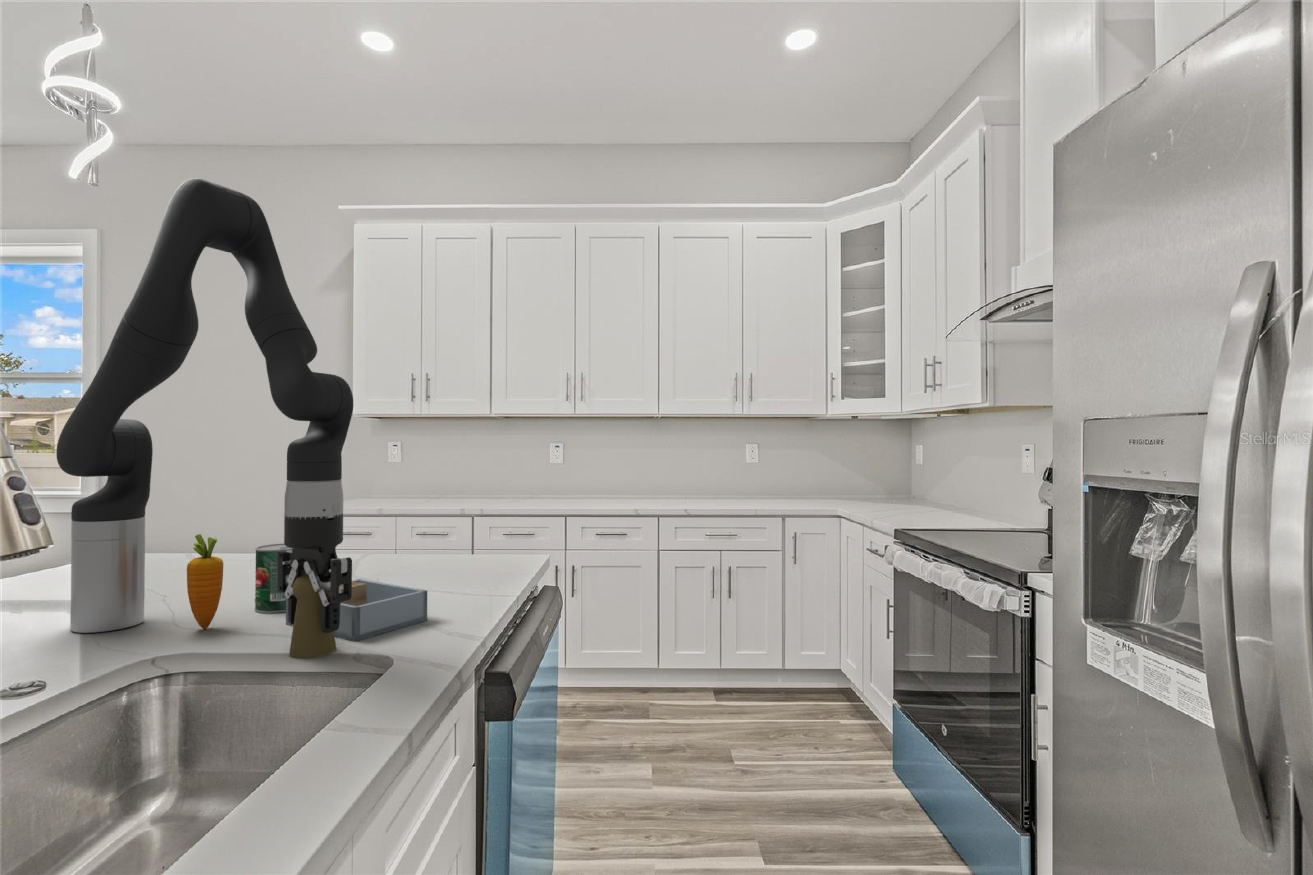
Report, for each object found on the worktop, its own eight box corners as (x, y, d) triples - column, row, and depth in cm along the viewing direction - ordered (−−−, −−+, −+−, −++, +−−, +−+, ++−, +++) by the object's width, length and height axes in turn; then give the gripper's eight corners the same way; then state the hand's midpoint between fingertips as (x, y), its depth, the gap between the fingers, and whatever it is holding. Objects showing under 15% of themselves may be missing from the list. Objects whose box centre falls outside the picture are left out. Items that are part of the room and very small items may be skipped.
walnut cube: (320, 615, 112) (320, 585, 112) (347, 609, 117) (347, 580, 117) (339, 620, 110) (340, 589, 110) (366, 613, 114) (366, 583, 114)
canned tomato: (245, 609, 119) (246, 547, 119) (289, 600, 126) (290, 541, 126) (270, 615, 115) (270, 551, 115) (314, 606, 122) (315, 545, 122)
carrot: (227, 629, 107) (228, 534, 107) (190, 635, 103) (191, 537, 103) (218, 623, 110) (219, 531, 110) (182, 629, 107) (182, 534, 107)
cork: (316, 660, 93) (317, 580, 93) (278, 656, 94) (279, 577, 94) (345, 646, 98) (346, 571, 98) (309, 643, 100) (310, 569, 100)
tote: (285, 624, 110) (286, 593, 110) (359, 606, 122) (359, 578, 122) (355, 641, 101) (355, 608, 101) (427, 620, 113) (427, 590, 113)
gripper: (259, 511, 96) (258, 626, 96) (320, 517, 89) (319, 642, 89) (308, 507, 103) (307, 614, 103) (369, 512, 96) (369, 628, 96)
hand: (313, 627), depth 96 cm, fingers open, 7 cm apart
